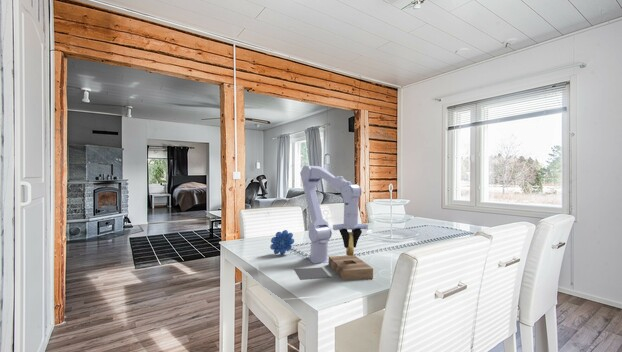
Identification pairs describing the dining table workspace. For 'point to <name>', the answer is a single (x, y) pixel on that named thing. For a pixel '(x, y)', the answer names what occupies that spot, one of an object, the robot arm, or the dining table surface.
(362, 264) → the walnut block
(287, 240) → the blue thick lobed disc
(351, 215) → the robot arm
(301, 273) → the rubber mat
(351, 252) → the brass pin
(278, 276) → the dining table surface
